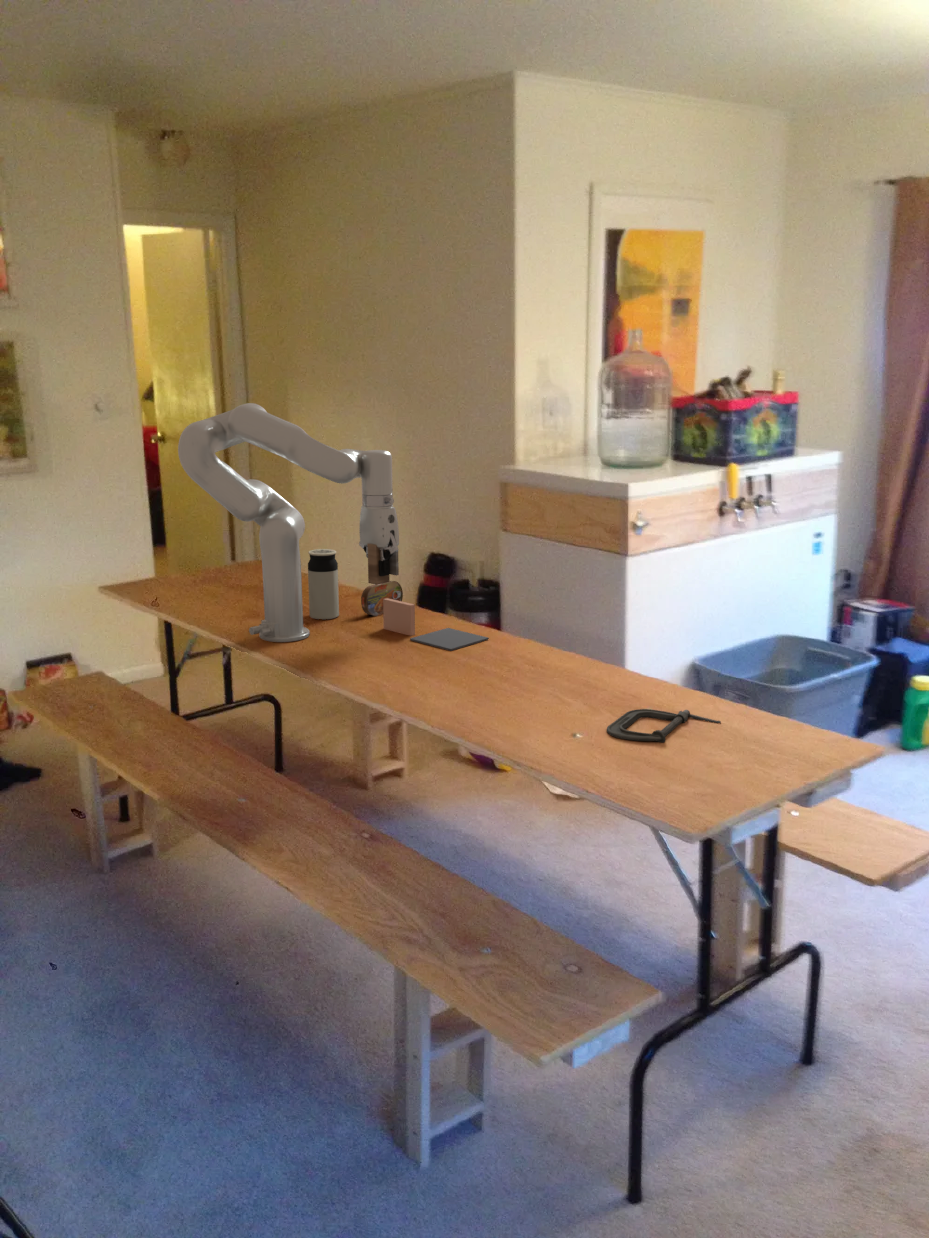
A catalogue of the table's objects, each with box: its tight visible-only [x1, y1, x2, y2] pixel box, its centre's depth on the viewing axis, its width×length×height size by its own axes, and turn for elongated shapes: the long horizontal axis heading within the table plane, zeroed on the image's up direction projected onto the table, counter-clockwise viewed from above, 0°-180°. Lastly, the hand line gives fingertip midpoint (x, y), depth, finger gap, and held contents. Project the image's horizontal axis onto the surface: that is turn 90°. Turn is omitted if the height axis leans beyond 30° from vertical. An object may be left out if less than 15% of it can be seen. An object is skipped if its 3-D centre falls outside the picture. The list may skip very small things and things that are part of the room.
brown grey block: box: [367, 544, 400, 585], centre depth 266 cm, size 5×8×10 cm, turn 48°
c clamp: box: [606, 708, 721, 744], centre depth 208 cm, size 20×17×3 cm
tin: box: [360, 580, 404, 617], centre depth 294 cm, size 15×3×8 cm, turn 143°
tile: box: [382, 598, 416, 637], centre depth 275 cm, size 2×10×8 cm, turn 48°
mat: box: [409, 627, 490, 652], centre depth 268 cm, size 14×14×1 cm
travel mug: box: [307, 548, 340, 621], centre depth 288 cm, size 8×8×18 cm
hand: (379, 573), depth 267 cm, fingers closed on brown grey block, 3 cm apart
